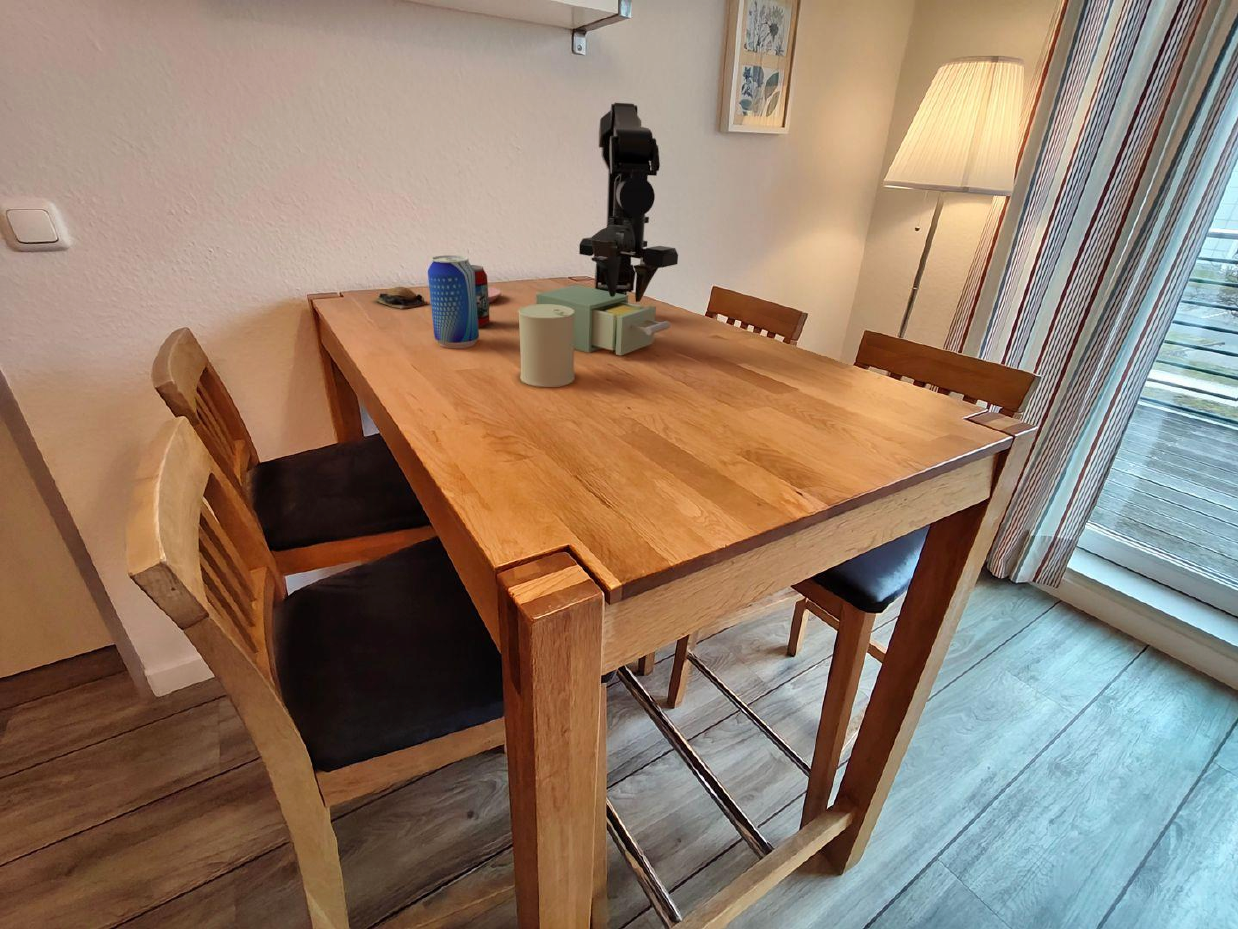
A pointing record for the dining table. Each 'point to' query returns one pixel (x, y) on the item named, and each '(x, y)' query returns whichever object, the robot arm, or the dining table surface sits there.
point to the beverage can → (481, 295)
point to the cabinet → (581, 309)
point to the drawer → (625, 328)
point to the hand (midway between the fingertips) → (625, 298)
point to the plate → (493, 293)
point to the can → (547, 345)
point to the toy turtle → (401, 298)
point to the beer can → (453, 301)
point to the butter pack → (621, 312)
